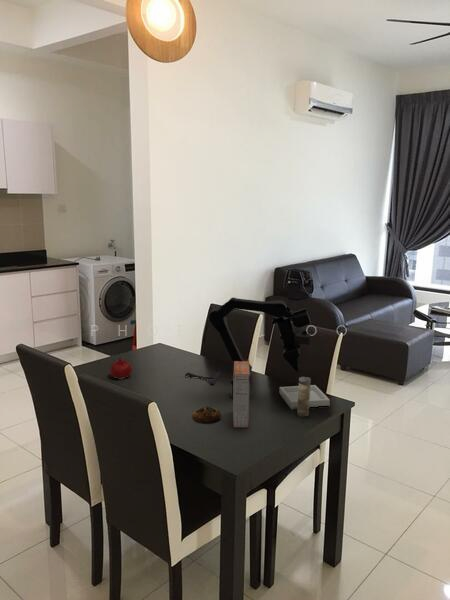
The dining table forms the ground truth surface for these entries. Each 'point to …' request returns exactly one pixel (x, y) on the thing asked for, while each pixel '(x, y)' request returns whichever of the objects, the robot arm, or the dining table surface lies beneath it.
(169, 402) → the dining table surface
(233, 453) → the dining table surface
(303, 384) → the handle post
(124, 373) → the pomegranate
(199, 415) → the bread roll
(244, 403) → the cracker box
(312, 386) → the tray
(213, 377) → the dark grey t-shape
